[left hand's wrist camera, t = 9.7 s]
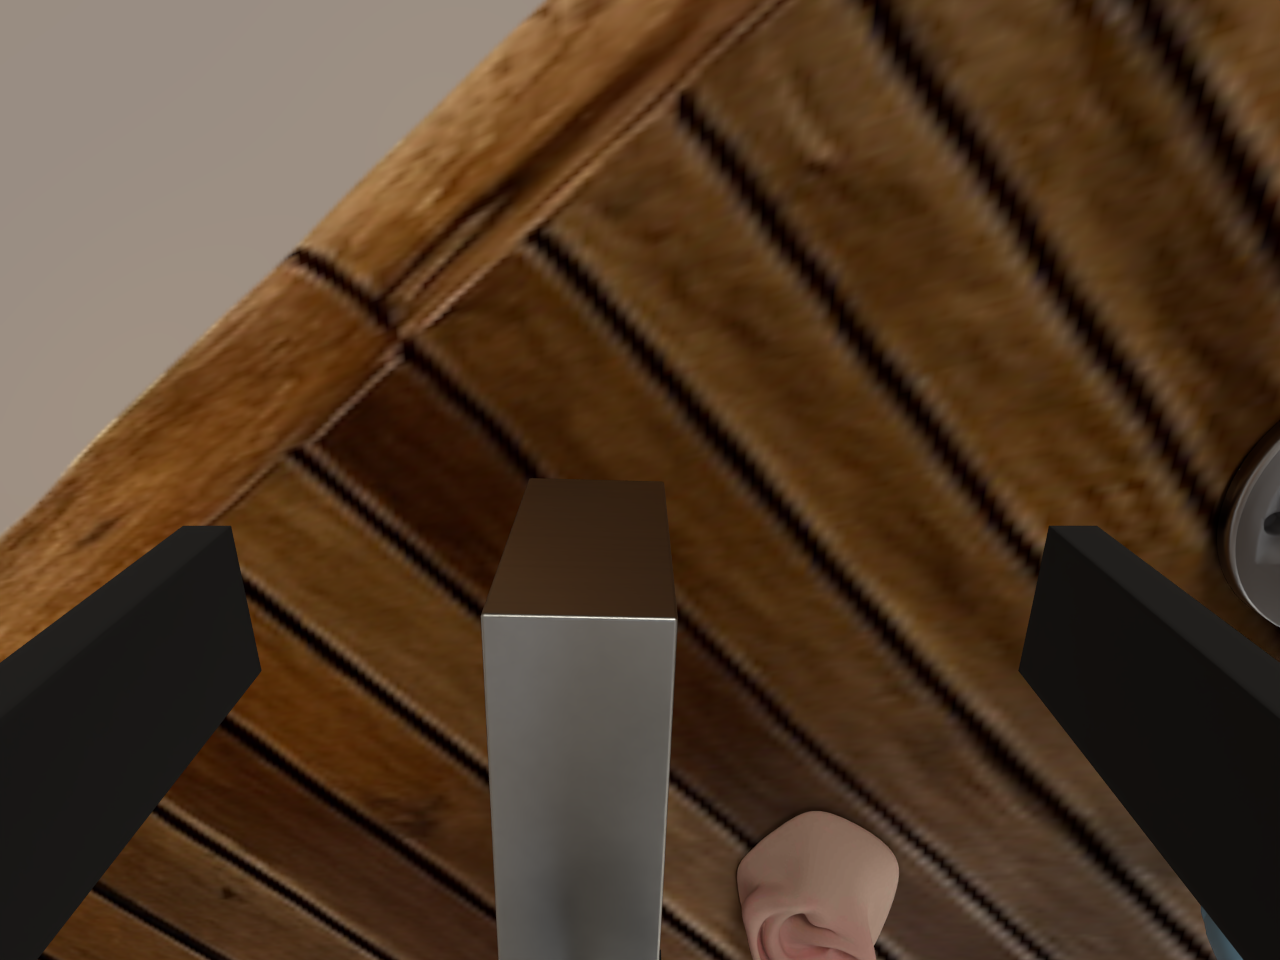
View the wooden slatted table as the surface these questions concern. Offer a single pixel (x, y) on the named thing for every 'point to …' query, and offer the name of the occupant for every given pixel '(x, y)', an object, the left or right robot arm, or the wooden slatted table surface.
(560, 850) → the bar
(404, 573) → the wooden slatted table surface
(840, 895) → the anatomical model
